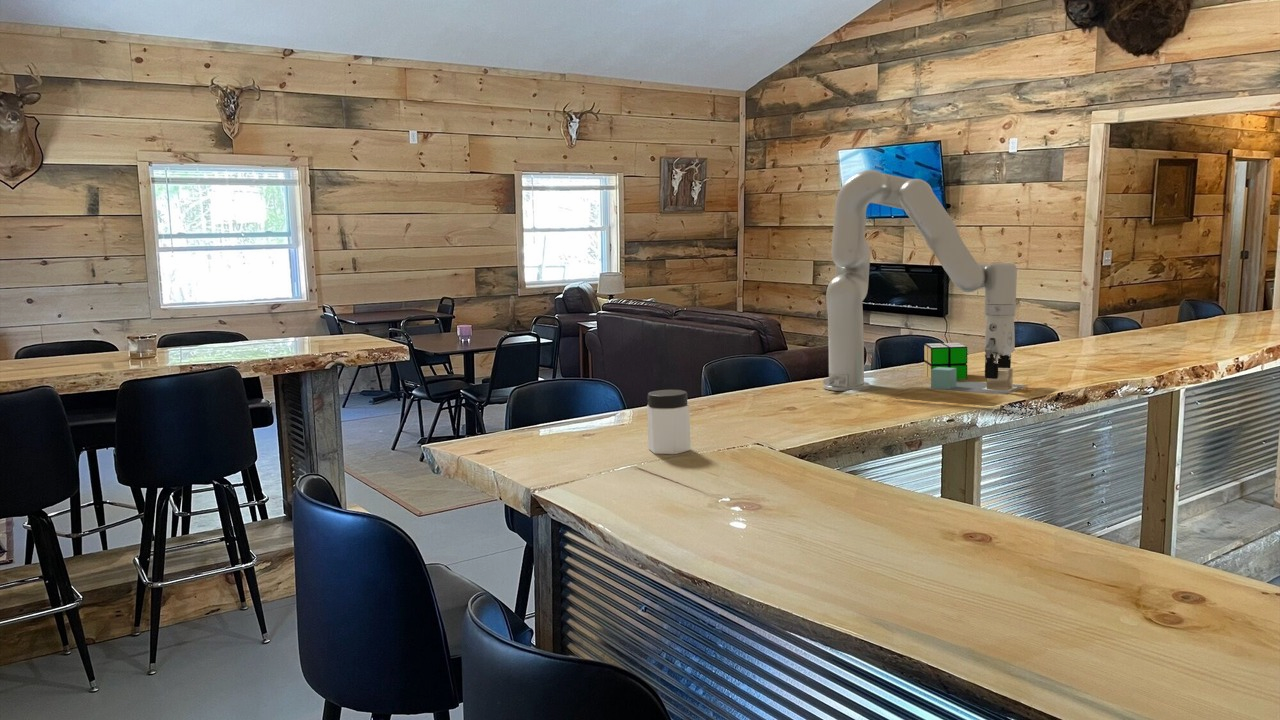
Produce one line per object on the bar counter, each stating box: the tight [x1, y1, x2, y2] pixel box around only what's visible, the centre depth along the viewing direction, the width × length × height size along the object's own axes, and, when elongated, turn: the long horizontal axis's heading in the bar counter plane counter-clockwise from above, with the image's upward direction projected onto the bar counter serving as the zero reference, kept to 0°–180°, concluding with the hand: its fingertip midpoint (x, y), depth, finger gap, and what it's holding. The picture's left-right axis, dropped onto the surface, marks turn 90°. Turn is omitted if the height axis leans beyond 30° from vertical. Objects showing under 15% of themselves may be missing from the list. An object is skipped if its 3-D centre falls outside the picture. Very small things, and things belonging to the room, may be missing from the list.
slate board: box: [926, 380, 1028, 396], centre depth 247 cm, size 16×21×1 cm
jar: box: [646, 389, 692, 455], centre depth 190 cm, size 9×8×12 cm
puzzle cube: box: [923, 342, 968, 380], centre depth 266 cm, size 10×10×10 cm
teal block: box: [930, 367, 957, 389], centre depth 248 cm, size 5×5×5 cm
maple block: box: [986, 368, 1014, 390], centre depth 242 cm, size 5×5×5 cm
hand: (997, 375), depth 243 cm, fingers open, 9 cm apart
